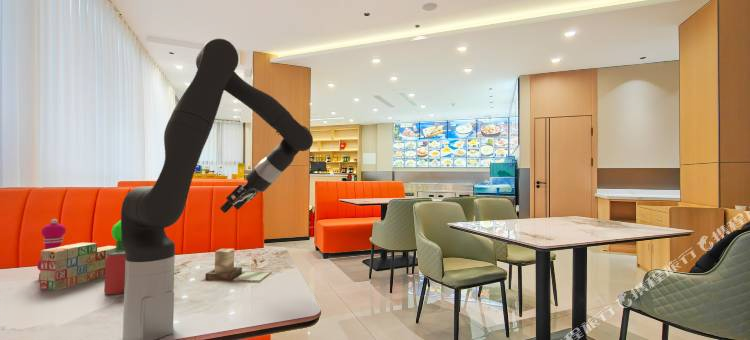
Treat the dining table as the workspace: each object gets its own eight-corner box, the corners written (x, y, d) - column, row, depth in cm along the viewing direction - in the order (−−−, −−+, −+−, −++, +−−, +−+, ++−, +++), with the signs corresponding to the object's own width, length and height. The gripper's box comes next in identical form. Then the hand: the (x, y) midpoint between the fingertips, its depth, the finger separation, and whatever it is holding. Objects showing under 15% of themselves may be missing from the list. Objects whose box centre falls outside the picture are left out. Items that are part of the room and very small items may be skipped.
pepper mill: (43, 275, 113) (45, 218, 114) (70, 272, 116) (72, 217, 117) (32, 281, 107) (34, 220, 107) (60, 278, 110) (63, 219, 110)
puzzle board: (272, 274, 117) (272, 266, 117) (259, 285, 105) (259, 276, 105) (219, 273, 118) (219, 265, 118) (200, 284, 106) (200, 274, 106)
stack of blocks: (107, 270, 120) (109, 237, 121) (121, 271, 119) (123, 238, 120) (38, 289, 99) (40, 249, 100) (54, 291, 98) (56, 250, 99)
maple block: (233, 274, 114) (234, 248, 114) (227, 278, 110) (228, 251, 110) (221, 273, 114) (221, 248, 115) (214, 277, 110) (215, 251, 110)
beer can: (99, 292, 97) (101, 253, 97) (125, 286, 103) (126, 248, 103) (110, 297, 94) (112, 255, 94) (136, 290, 100) (137, 251, 100)
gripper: (265, 166, 111) (232, 199, 111) (247, 165, 96) (209, 203, 97) (280, 181, 110) (247, 214, 111) (264, 183, 96) (226, 220, 96)
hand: (229, 209), depth 104 cm, fingers open, 8 cm apart
